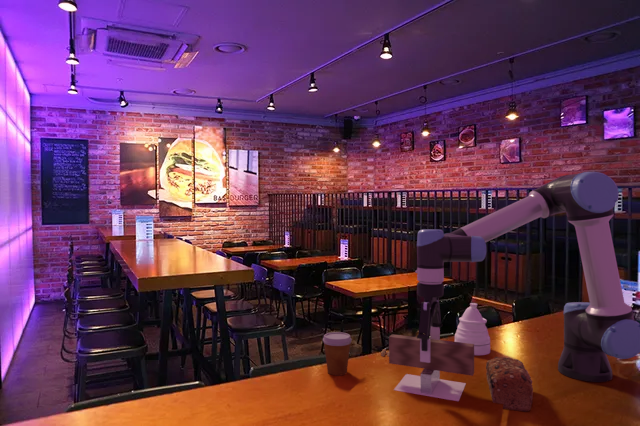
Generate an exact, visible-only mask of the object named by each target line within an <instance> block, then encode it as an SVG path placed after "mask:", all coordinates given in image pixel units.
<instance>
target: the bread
mask: <svg viewBox="0 0 640 426" xmlns="http://www.w3.org/2000/svg"><path fill="white" fill-rule="evenodd" d="M485 366H486V367H485V368H486V370H485V371H486V375H485V376H486V381H487V384H488V389H489V392H490V396H491V401H492V402H493V403H494V404H502V409H503V410H511V411H520V412H529V411H531V408H532V404H533V394H534V389H533V385H532V384H533V380H532V376H531V375H530V373H529V371H528V370H527V369H526V368H525V365H524V363H523V362H522V361H521V360H519V359H516V358H512V357H506V356H495V357H494V358H491V359H488V360H487V361H486V365H485Z"/></svg>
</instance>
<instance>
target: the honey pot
mask: <svg viewBox="0 0 640 426" xmlns="http://www.w3.org/2000/svg"><path fill="white" fill-rule="evenodd" d="M469 305H470V306H469V307H467V308H465V311H464V312H463V314H462V315H461V317H459V318H458V320H459V323H458V325H457V327H456V328H457V329H456V331H455V334H454V342H461V343H469V344H474V356H485V355H489V354H490V353H491V337H490V335H489V331H488V327H487V326H486V324H487V321H488V320H487V319H486V318H484V317H483V316H482V313H480V310H479V309H478V308H477V307H478V303H475V302H470V303H469Z"/></svg>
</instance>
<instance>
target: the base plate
mask: <svg viewBox="0 0 640 426" xmlns="http://www.w3.org/2000/svg"><path fill="white" fill-rule="evenodd" d="M466 384H467V383H466V382H460V381H453V380H447V379H441V378H440V381H439V382H438V384H437V386H436V388H435V389H434V391H433V393H432V395H429V394H423V393H421V375H416V374H410V373H409V374H408V373H406V374H405V375H404V376H403V377H402V379H401V380H400V381H399V382H398V384H397V385H396V386H395V387H394V389H393V391H398V392H402V393H408V394H415V395H421V396H427V397H431V398H436V399H438V398H439V399H442V400H443V399H444V400H447V401H455V402H459V401H460V399H461V397H462V394H463V392H464V389H465V387H466Z"/></svg>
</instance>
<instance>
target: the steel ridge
mask: <svg viewBox="0 0 640 426" xmlns="http://www.w3.org/2000/svg"><path fill="white" fill-rule="evenodd" d="M440 375H441V371H437V370H431V369H424V368H422V371H421V372H420V376H421V393H423V394H429V395H432V393H433V391H434V389H435V388H436V386H437V384H438V382H439V381H440V379H441V378H440Z"/></svg>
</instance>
